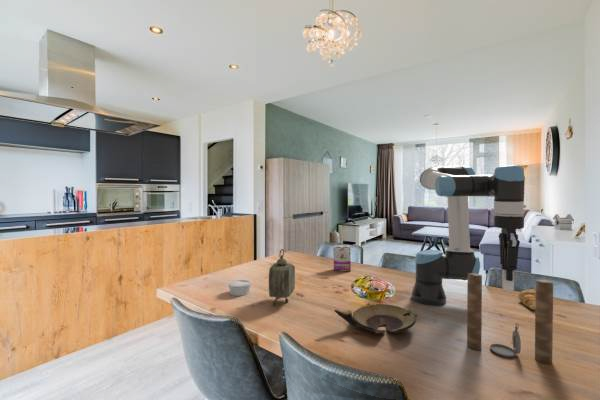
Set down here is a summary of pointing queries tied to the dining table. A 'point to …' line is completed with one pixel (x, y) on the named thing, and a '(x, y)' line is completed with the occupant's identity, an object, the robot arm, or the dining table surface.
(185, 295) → the dining table surface
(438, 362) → the dining table surface
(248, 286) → the ramekin
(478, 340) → the post left
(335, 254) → the candy bar box
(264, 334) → the dining table surface
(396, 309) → the oil lamp
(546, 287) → the post right
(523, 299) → the croissant
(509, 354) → the pocket watch
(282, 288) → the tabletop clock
